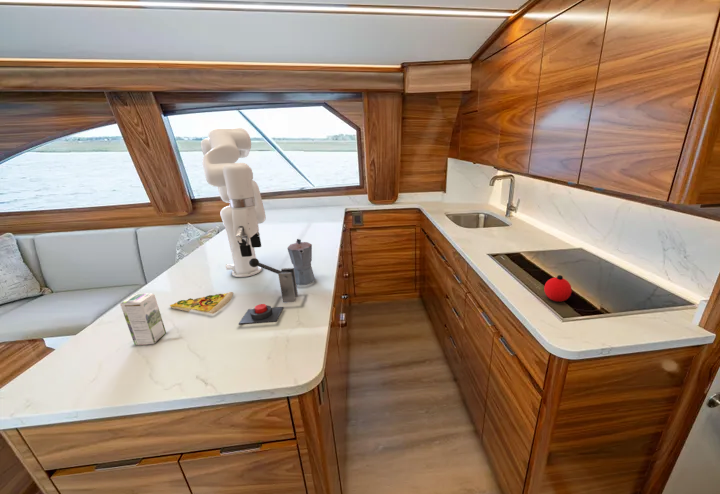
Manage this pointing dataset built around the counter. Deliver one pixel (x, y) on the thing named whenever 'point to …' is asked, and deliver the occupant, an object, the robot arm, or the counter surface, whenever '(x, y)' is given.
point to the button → (260, 308)
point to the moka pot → (302, 262)
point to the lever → (263, 266)
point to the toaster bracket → (288, 285)
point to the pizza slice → (204, 303)
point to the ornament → (558, 289)
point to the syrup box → (143, 318)
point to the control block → (261, 316)
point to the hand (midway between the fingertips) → (252, 251)
